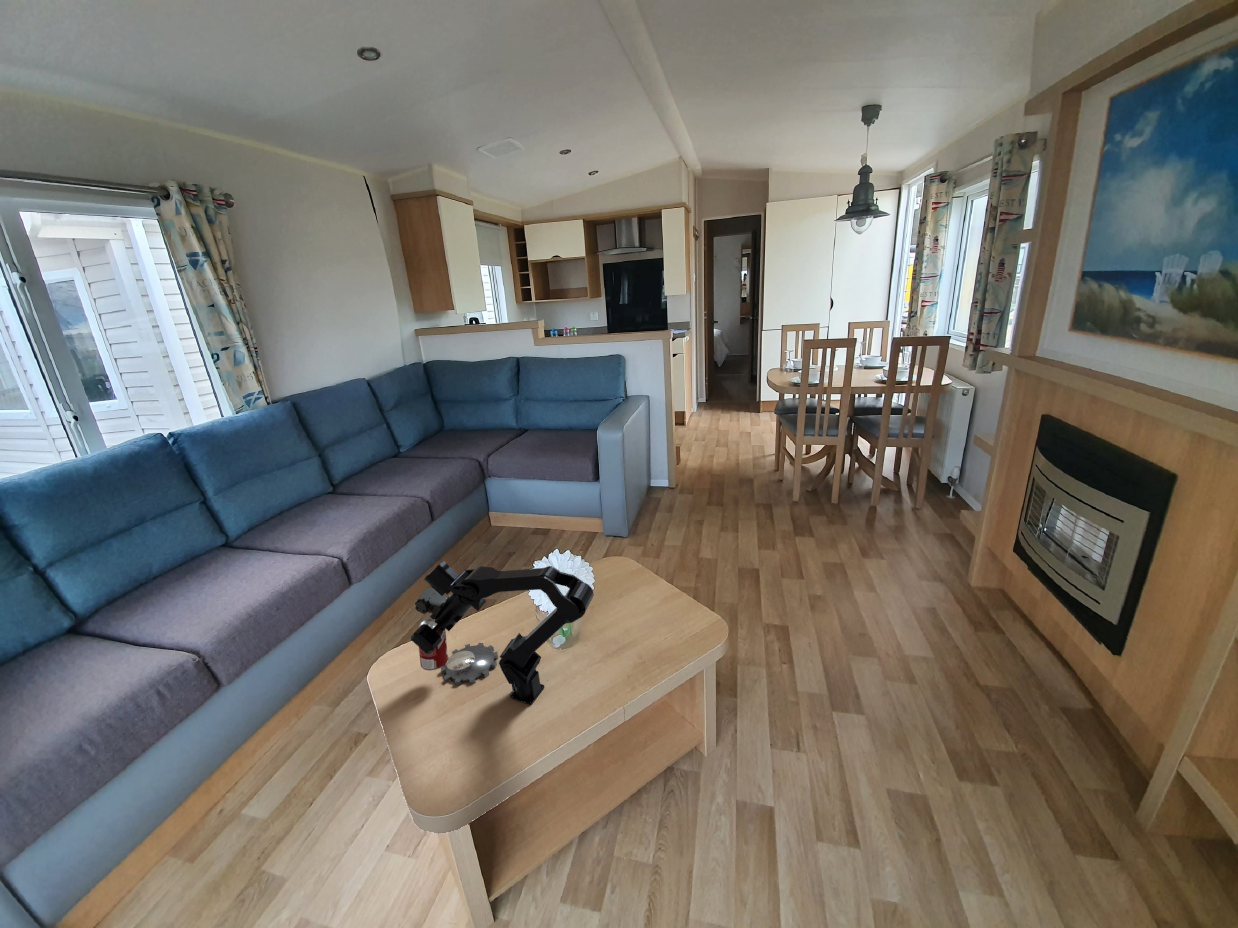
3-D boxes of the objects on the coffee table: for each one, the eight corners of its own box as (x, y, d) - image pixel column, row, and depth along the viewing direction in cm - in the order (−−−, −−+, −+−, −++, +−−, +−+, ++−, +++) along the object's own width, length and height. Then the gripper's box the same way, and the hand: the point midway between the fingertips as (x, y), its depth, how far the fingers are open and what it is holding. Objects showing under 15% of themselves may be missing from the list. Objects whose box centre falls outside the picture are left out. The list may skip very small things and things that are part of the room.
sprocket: (508, 653, 140) (508, 649, 139) (474, 691, 127) (473, 687, 126) (467, 641, 146) (466, 637, 145) (429, 676, 133) (429, 672, 132)
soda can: (434, 675, 125) (430, 634, 122) (415, 668, 127) (410, 627, 124) (453, 660, 131) (450, 620, 128) (434, 653, 133) (430, 614, 130)
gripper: (454, 563, 130) (426, 596, 136) (409, 605, 113) (379, 640, 119) (485, 591, 130) (456, 622, 136) (445, 637, 113) (414, 670, 119)
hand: (428, 637), depth 128 cm, fingers closed on soda can, 6 cm apart
